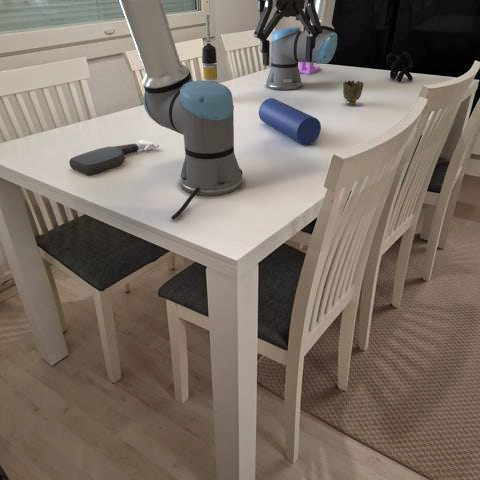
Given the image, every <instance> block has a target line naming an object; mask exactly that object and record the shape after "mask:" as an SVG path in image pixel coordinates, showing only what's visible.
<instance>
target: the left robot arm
mask: <svg viewBox="0 0 480 480" xmlns="http://www.w3.org/2000/svg"><path fill="white" fill-rule="evenodd" d="M119 4H120V6H121V9H122V11H123V15H124V17H125V20H126V22H127V25H128V28H129V30H130V34H131V36H132V39H133V42H134V45H135V48H136V50H137V53H138V55H139V59H140V61H141V64H142V67H143V69H144V72H145V76H144V78H143V79H142V86H143V88H144V94H143V95H142V103H143V108H144V111H146V114H147V115H148V117H149V118H150V119H151V120H153V121H154V123H156V124H158V125H159V126H160V127H163V128H166V129H169V130H170V131H173V132H175V133H178V134H180V135H182V136H183V141H184V142H183V143H184V154H185V155H184V158H183V164H182V168H181V171H180V177H179V183H180V184H179V185H180V188H181V189H182V191H184V192H186V193H187V194H190V195H189V196H188V197H187V198H186V200H185V201H184V203H183V204H182V206H181V207H180V208H179V209H178V210H177V211H176V212H174V214H173V215H171V218H170V219H171V220H173V221H175V220H176V219H177V218H179V216H180V215H181V214H182V213H183V212H184V211H185V210H186V209H187V207H188V205H189V204H190V203H191V202H192V201H193V199H194V198H195V197H196V196H199V197H221V196H224V195H229V194H232V193H234V192H235V191H237V190H239V189H240V188H241V187H242V185H243V176H244V175H243V174H244V173H243V170H242V169H241V168H240V165H239V163H238V160H237V157H236V154H235V132H234V131H235V129H234V127H235V126H234V123H235V121H234V118H235V117H234V114H235V113H234V110H235V105H234V101H233V94H232V91H231V90H230V89H229V87H227V86H226V85H224V84H222V83H220V82H218V81H215V82H208V80H193V78H192V73H191V70H190V68H189V67H188V66H187V65H185V64H183V63H181V60H180V57H179V54H178V50H177V46H176V43H175V39H174V36H173V33H172V30H171V27H170V24H169V21H168V17H167V14H166V11H165V7H164V4H163V1H162V0H119ZM304 4H305V6H304ZM303 6H304V7H306V10H307V13H308V16H309V18H310V19H311V22H312V25H313V26H312V25H311V23H310V19H308V17H307V15H306V12H305V11H304V9H302V7H303ZM274 8H276V10H275V11H274V12H273V11H272V10H273V9H274ZM272 12H273V16H272V17H271V19H270V20H269V18H270V16H271V13H272ZM296 16H297V17H298V18H299V20H300V21H299V22H300V23H301V24H302V26H303V27H304V30H305V29H306V31H307V32H308V34H309V35H310V36H307V37H306V54H305V61H308V62H312V52H313V49H315V43H316V37H318V34H322V32H323V30H322V27H321V24H320V21H319V18H318V15H317V12H316V9H315V0H265V6H264V10H263V12H262V15H261V17H260V16H259V20H258V22H257V25H256V27H255V30H254V32H253V37H254V38H256V39H259V52H260V53H262V66H266V67H269V66H270V44H271V41H270V39H268V38H269V37H270V36H271V35H272V33H273V31H274V30H275V28H276V27H277V25H278V23H280V21H281V20H282V19H283V18H291V17H293V18H296ZM217 82H218V83H217Z"/></svg>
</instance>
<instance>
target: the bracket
mask: <svg viewBox="0 0 480 480" xmlns="http://www.w3.org/2000/svg"><path fill="white" fill-rule="evenodd" d="M298 69H299V73H300V74H304V75H305V74H306V75H311V74H314V73H316V72H319V71H321V66H320V65H315V63H307V62H299V67H298Z"/></svg>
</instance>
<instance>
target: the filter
mask: <svg viewBox="0 0 480 480" xmlns="http://www.w3.org/2000/svg"><path fill="white" fill-rule="evenodd" d="M210 17H211V14H204V18H205V27H206V29H205V30H206V31H205V33H206V39H207V40H206V42H207V43H206V45H204V46H202V49H201V50H202V51H201V52H202V54H201V55H202V57H201V58H202V61H201V63H202V71H203V72H202V73H203V74H202V75H203V81H208V82H217V83H219V82H218V81H216V80H218V64H216V63H218V61H217V48H216V47H215V46H214V45H212V43H210V42H211V40H210V39H211V31H210V29H211V28H210Z"/></svg>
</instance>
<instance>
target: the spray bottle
mask: <svg viewBox="0 0 480 480" xmlns="http://www.w3.org/2000/svg"><path fill="white" fill-rule="evenodd" d="M159 148H160V145H159V144H158V143H155V142H151V141H148V140H144V139H139V140H138V141H137V142H135V143H129V144H128V143H126V144H122V145H113V146H105V147H100V148H97V149H94V150H90V151H87V152H83V153H81V154H78V155H74V156H73V157H70V159H69V161H68V162H69V167H70V168H71V169H72V170H74V171H75V172H78V173H81V174H83V175H85V176H89V177H90V176H91V177H92V176H95V175H99V174H102V173H105V172H107V171H110V170H113V169H116V168H118V167H120V166H122V165H123V164H124V163H125V158H126V156H127V155H131V154H133V153H138V151H140V150H143V151H144V152H146V151H147V150H149V149H159Z"/></svg>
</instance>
